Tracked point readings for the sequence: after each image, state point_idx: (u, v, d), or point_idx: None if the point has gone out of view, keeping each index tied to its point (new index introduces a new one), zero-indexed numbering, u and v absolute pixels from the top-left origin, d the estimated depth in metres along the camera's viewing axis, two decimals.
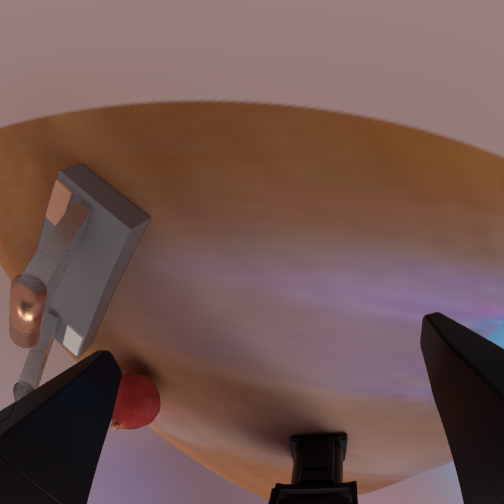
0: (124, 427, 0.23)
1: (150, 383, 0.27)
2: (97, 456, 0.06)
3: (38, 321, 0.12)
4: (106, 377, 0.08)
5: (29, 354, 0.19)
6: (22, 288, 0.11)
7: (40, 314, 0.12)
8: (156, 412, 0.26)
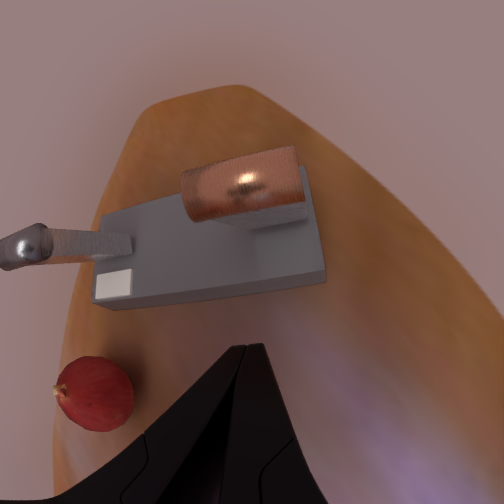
0: (64, 404, 0.15)
1: (134, 402, 0.19)
2: None
3: (256, 205, 0.10)
4: None
5: (83, 232, 0.16)
6: None
7: (272, 204, 0.10)
8: (107, 429, 0.16)
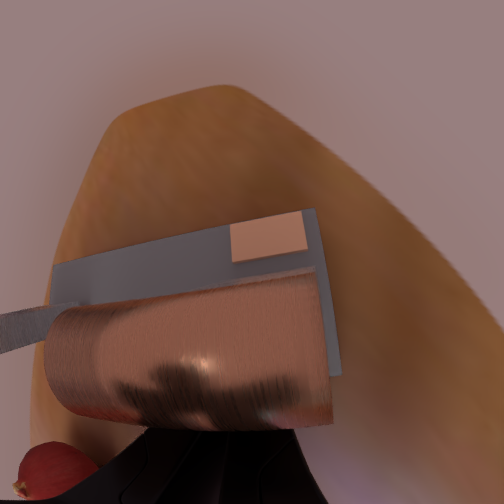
0: None
1: None
2: None
3: None
4: None
5: (8, 319, 0.10)
6: (323, 329, 0.03)
7: None
8: None
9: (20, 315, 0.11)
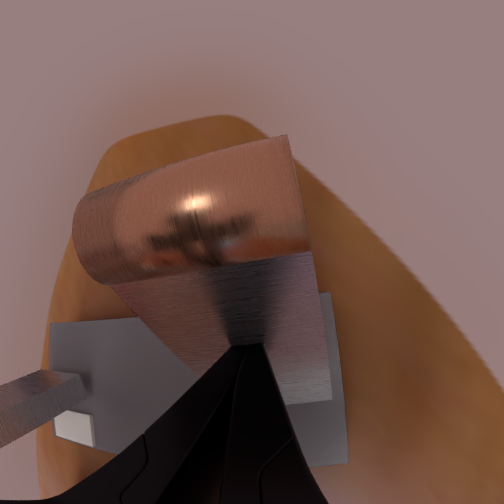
0: None
1: None
2: None
3: (190, 229, 0.04)
4: None
5: (12, 409, 0.08)
6: (296, 174, 0.05)
7: (226, 228, 0.04)
8: None
9: (22, 402, 0.09)
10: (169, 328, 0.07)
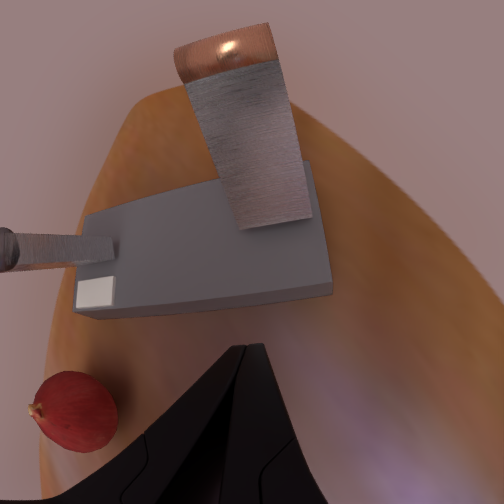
0: (40, 424, 0.12)
1: (117, 422, 0.16)
2: None
3: (231, 45, 0.10)
4: None
5: (56, 236, 0.14)
6: None
7: (245, 44, 0.09)
8: (89, 451, 0.14)
9: (65, 235, 0.14)
10: (208, 115, 0.12)
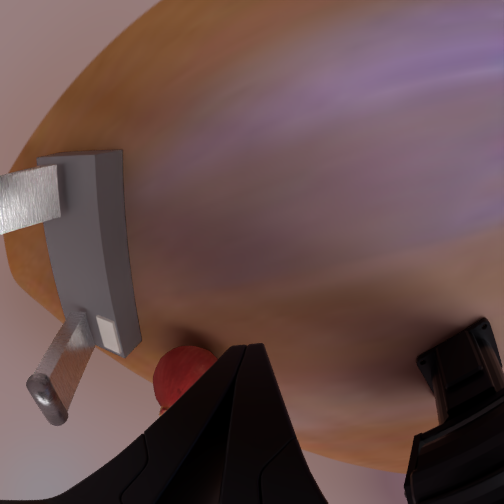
0: None
1: (202, 349, 0.22)
2: None
3: None
4: None
5: (49, 348, 0.18)
6: None
7: None
8: None
9: (52, 342, 0.19)
10: None
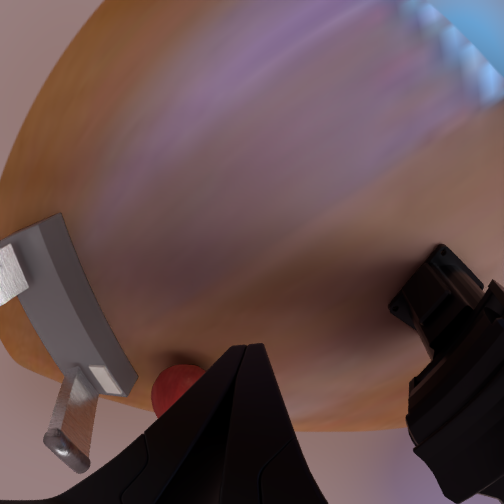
0: None
1: (185, 365, 0.23)
2: None
3: None
4: None
5: (55, 405, 0.19)
6: None
7: None
8: None
9: (57, 399, 0.19)
10: None
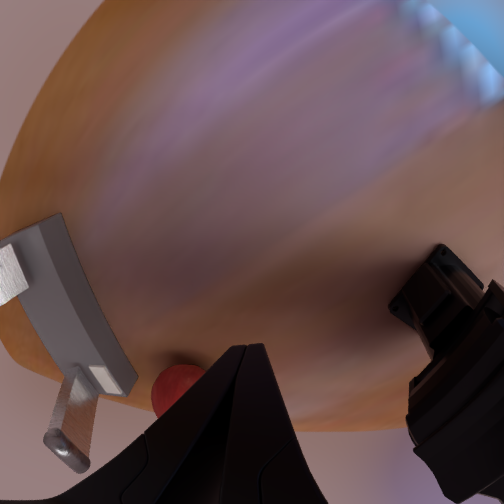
0: None
1: (185, 365, 0.23)
2: None
3: None
4: None
5: (55, 405, 0.19)
6: None
7: None
8: None
9: (57, 399, 0.19)
10: None
